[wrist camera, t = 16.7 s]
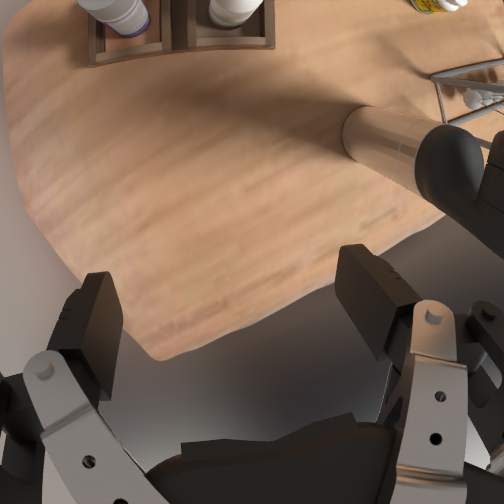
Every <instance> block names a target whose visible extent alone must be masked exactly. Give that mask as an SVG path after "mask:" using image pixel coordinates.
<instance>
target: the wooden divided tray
mask: <svg viewBox="0 0 504 504" xmlns="http://www.w3.org/2000/svg"><path fill="white" fill-rule="evenodd" d="M142 1H143V3H144V5H145V6H146V8H147V10H148V12H149V14H150V18H151V21H150V25H149V27H148V28H147V30H146V31H145V32H144V33H143V34H141V35H140V36H138V37H135V38H124V37H121V36H120V35H118V34H117V33H115V32H114V31H113V30H111V29H110V28H108V27H107V26H106V25H104V24H103V23H101V22H100V21H98V20H97V19H96V18H95V17H93V16H92V15H91V14H90V13H89V12H88V61H89V67H92V68H93V67H97V66H101V65H106V64H110V63H115V62H120V61H126V60H131V59H137V58H143V57H150V56H157V55H164V54H173V53H182V52H194V51H209V50H235V49H260V50H273V49H275V10H274V0H142Z"/></svg>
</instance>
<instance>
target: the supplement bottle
mask: <svg viewBox="0 0 504 504" xmlns="http://www.w3.org/2000/svg"><path fill="white" fill-rule="evenodd" d="M411 2H412V4H413V5H414V7H415V8H416V9H417V10H418V11H419V12H421V13H423V14H435V13H442V12H450V11H455V10H457V9H458V7H460V6H465V5H466V4H467V0H411Z"/></svg>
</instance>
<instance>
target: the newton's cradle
mask: <svg viewBox="0 0 504 504" xmlns="http://www.w3.org/2000/svg"><path fill="white" fill-rule="evenodd" d="M503 64H504V59H502V60H496V61H491V62H486V63H481V64H476V65H471V66H467V67H462V68H458V69H454V70H450V71H446V72H442V73H438V74H434V75H432V76H431V78H430V79H431V81H432V82H434V83H437V87H438V91H439V95H440V99H441V104H442V108H443V113H444V118H445V124H449V125H452V126H458V125H460V124H462V123H465V122H467V121H470V120H472V119H475V118H477V117H480V116H482V115H484V114H487V113H489V112H492V111H494V110H495V111H497V109H500V108H502V107H504V101H503V102H498V101H500V100H501V99H504V81H503V80H500V81H498V82H497V83H496V84H495V83H489V84H487V83H481V82H475V81H468V80H461V79H454V78H447V77H451V76H455V75H459V74H463V73H467V72H471V71H475V70H479V69H484V68H488V67H493V66H498V65H503ZM439 83H441V84H448V85H455V86H462V87H468V88H473V89H476V90H473V89H469V90H467V91H466V92H465V93H464V95H463V100H464V103H465V104H466V106H467V107H468V108H470V109H473V110H476V109H479V108H480V107H481V105H485V106H487V105H489V104H491V103H492V101H494V102H498V104H495V105H492V106H490V107H489V106H487V108H484V109H482V110H479V111H477V112H474V113H471V114H469V115H466V116H464V117H461V118H459V119H456V120H454V121H451V122H449V123H447V118H446V113H445V108H444V104H443V99H442V95H441V90H440V86H439ZM497 112H499V111H497ZM499 113H501V112H499ZM501 114H503V113H501ZM503 115H504V114H503ZM475 139H476V140H477V142H478V143H479V145H480V146H482V147H484V148H487V149H489V150H490V148H491V145H492V143H491V142H488V141H485V140H482V139H480V138H477V137H475Z"/></svg>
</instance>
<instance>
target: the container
mask: <svg viewBox="0 0 504 504" xmlns="http://www.w3.org/2000/svg"><path fill="white" fill-rule="evenodd" d="M77 2H78V4H79V5H80V6H81V7H82V8H84V9H85V10H86V11H87V12H89V13H90V14H91V15H92V16H93V17H95V18H96V19H97V20H98V21H100V22H101V23H103V24H104V25H106V26H107V27H108V28H110V29H111V30H113V31H114V32H115V33H117V34H118V35H120V36H121V37H124V38H135V37H138V36H140V35H141V34H143V33H144V32H145V31H146V30H147V28H148V27H149V25H150V21H151V18H150V14H149V12H148V10H147V8H146V6H145V5H144V3H143V1H142V0H77Z"/></svg>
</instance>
